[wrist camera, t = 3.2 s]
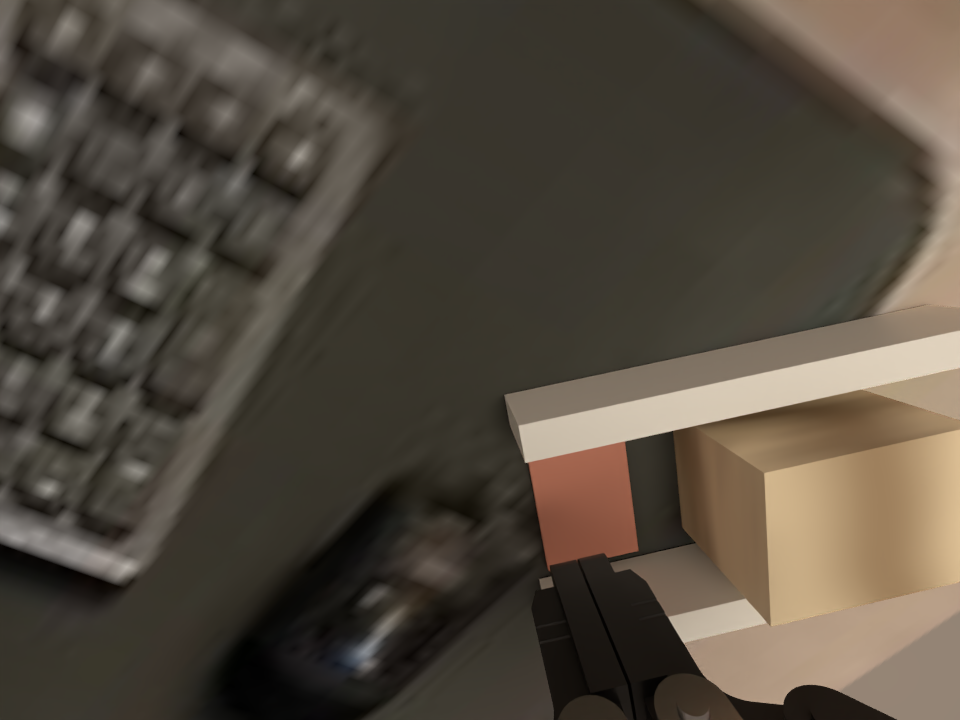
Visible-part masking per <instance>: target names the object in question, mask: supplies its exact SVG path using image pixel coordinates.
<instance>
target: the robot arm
mask: <svg viewBox="0 0 960 720" xmlns="http://www.w3.org/2000/svg"><path fill="white" fill-rule="evenodd" d="M577 562H578V563H577ZM550 572H551V577H552V581H553V586H554V587H550V588H546V589H542V590H538V591H536V592H535V596H534V600H533V604H532V613H533V617H534V622H535V626H536V631H537V635H538V640H539V644H540V648H541V653H542V657H543V662H544V666H545V671H546V675H547V679H548V684H549V688H550V693H551V697H552V702H553V707H554V720H896V719H894V718H892V717H890V716H888V715H886V714H884V713H882V712H880V711H877V710H876V709H873V708H872V707H869V706H867V705H865V704H863V703H861V702H859V701H857V700H855V699H853V698H851V697H849V696H847V695H845V694H843V693H840V692H838V691H836V690H833V689H830V688H827V687H823V686H818V685H803V686H799V687H796V688H794V689H793V690H791V691H790V692H789V693H788V694H787V696H786V697H785V700H784V704H783V705H777V704H768V703H758V702H750V701H744V700H741V699H738V698H735V697H732V696H730V695H728V694H726V693H724V692H722V691H721V690H720V689H719V688H718V687H717V686H716V685H715V684H713V683H712V682H710V681H709V680H707V679H706V678H705V677H704V676H703V674H702V673H701V671H700V670H699V668H698V667H697V665H696V663H695V662H694V660H693V658H692V657H691V655H690V653H689V652H688V650H687V648H686V647H685V645H684V643H683V642H682V640H681V638H680V637H679V635H678V633H677V632H676V630H675V628H674V627H673V625H672V623H671V622H670V620H669V618H668V617H667V616H666V614H665V612H664V610H663V608H662V607H661V605H660V603H659V602H658V601H657V599H656V597H655V595H654V593H653V592H652V590H651V588H650V587H649V585H648V583H647V582H646V581H645V580H644V579H643V578H641V577H640V576H639V575H637V574H636V573H635V572H633V571H632V570H631V569H628V570H623V571H619V572H614V570H613V568H612V566H611V564H610V562H609V560H608V558H607V556H606V555H605V553H601V554H596V555H592V556H588V557H583V558H579V559H577V561H576V560H571V561H567V562H562V563H558V564H554V565H550Z"/></svg>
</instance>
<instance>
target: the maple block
mask: <svg viewBox="0 0 960 720" xmlns="http://www.w3.org/2000/svg"><path fill="white" fill-rule="evenodd" d="M673 436H674V446H675V457H676V467H677V478H678V488H679V499H680V509H681V520H682V528H683V529H684V530H685V531H686V532H687V533H688V535H689V536H690V537H691V538H692V539H693V540H694V541H695V542H696V544H697V545H698V546H699V547H700V548H701V549H702V550H703V551H704V552H705V554H706V555H707V556H708V557H709V558H710V559H711V560H712V561H713V563H714V564H715V565H716V566H717V567H718V568H719V569H720V570H721V572H722V573H723V574H724V575H725V576H726V577H727V578H728V579H729V580H730V582H731V583H732V584H733V585H734V586H735V587H736V588H737V589H738V591H739V592H740V593H741V594H742V595H743V596H744V597H745V598H746V599H747V601H748V602H749V603H750V604H751V605H752V606H753V607H754V608H755V610H756V611H757V612H758V613H759V614H760V615H761V616H762V617H763V619H764V620H765V621H766V622H767V623H768V624H769V625H770V626H771V627H772V626H777V625H781V624H785V623H789V622H793V621H798V620H802V619H806V618H810V617H815V616H819V615H823V614H827V613H831V612H836V611H840V610H844V609H848V608H853V607H857V606H861V605H865V604H869V603H874V602H878V601H882V600H886V599H890V598H895V597H899V596H903V595H907V594H912V593H916V592H920V591H924V590H928V589H933V588H937V587H941V586H945V585H950V584H954V583H958V582H960V420H957V419H954V418H951V417H947V416H944V415H941V414H938V413H935V412H931V411H928V410H925V409H922V408H919V407H915V406H912V405H909V404H906V403H903V402H899V401H896V400H893V399H890V398H887V397H883V396H880V395H877V394H874V393H871V392H867V391H864V390H856V391H852V392H847V393H843V394H838V395H834V396H829V397H824V398H820V399H815V400H811V401H806V402H802V403H797V404H793V405H788V406H783V407H779V408H774V409H770V410H765V411H761V412H756V413H752V414H747V415H742V416H738V417H733V418H729V419H724V420H720V421H715V422H711V423H706V424H701V425H697V426H692V427H688V428H683V429H679V430H674V431H673Z"/></svg>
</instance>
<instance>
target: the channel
mask: <svg viewBox="0 0 960 720" xmlns="http://www.w3.org/2000/svg"><path fill="white" fill-rule="evenodd" d="M957 368H960V308H957V307H946V306H936V305H924V306H919V307H915V308H910V309H905V310H901V311H896V312H891V313H886V314H882V315H877V316H872V317H868V318H863V319H858V320H854V321H849V322H844V323H839V324H835V325H830V326H825V327H821V328H816V329H811V330H807V331H802V332H797V333H792V334H788V335H783V336H778V337H774V338H769V339H764V340H760V341H755V342H750V343H745V344H741V345H736V346H731V347H727V348H722V349H717V350H713V351H708V352H703V353H698V354H694V355H689V356H684V357H680V358H675V359H670V360H666V361H661V362H656V363H652V364H647V365H642V366H637V367H633V368H628V369H623V370H619V371H614V372H609V373H605V374H600V375H595V376H590V377H586V378H581V379H576V380H572V381H567V382H562V383H558V384H553V385H548V386H543V387H539V388H534V389H529V390H525V391H520V392H515V393H511V394H506V395H504V397H505V402H506V407H507V413H508V418H509V423H510V427H511V430H512V432H513V434H514V437H515V439H516V442H517V444H518V446H519V449H520V451H521V454H522V456H523V459H524V461H525V463H528V465H529V471H530V476H531V482H532V487H533V493H534V498H535V504H536V509H537V515H538V520H539V525H540V531H541V536H542V542H543V547H544V553H545V558H546V564H547V568H548V571H550V565H554V564H558V563H562V562H567V561H571V560H576V561H577V559H579V558H583V557H588V556H592V555H596V554H601V553H605V555H606V556H607V558H609V557H614V556H618V555H623V554H627V553H631V552H636V551H638V543H637V535H636V527H635V519H634V511H633V503H632V495H631V487H630V479H629V471H628V463H627V455H626V447H625V441H628V440H633V439H638V438H642V437H647V436H651V435H656V434H660V433H665V432H669V431H674V430H679V429H683V428H688V427H692V426H697V425H701V424H706V423H711V422H715V421H720V420H724V419H729V418H733V417H738V416H742V415H747V414H752V413H756V412H761V411H765V410H770V409H774V408H779V407H783V406H788V405H793V404H797V403H802V402H806V401H811V400H815V399H820V398H824V397H829V396H834V395H838V394H843V393H847V392H852V391H856V390H861V389H865V388H870V387H875V386H879V385H884V384H888V383H893V382H897V381H902V380H907V379H911V378H916V377H920V376H925V375H929V374H934V373H938V372H943V371H948V370H952V369H957ZM577 563H578V562H577ZM610 564H611V566H612V568H613V570H614V572H619V571H623V570H628V569H631V570H632V571H633V572H635V573H636V574H637V575H639V576H640V577H641V578H643V579H644V580H645V581H646V582H647V583H648V585H649V587H650V588H651V590H652V592H653V593H654V595H655V597H656V599H657V601H658V602H659V603H660V605H661V607H662V608H663V610H664V612H665V614H666V616H667V617H668V618H669V620H670V622H671V623H672V625H673V627H674V628H675V630H676V632H677V633H678V635H679V637H680V638H681V640H682V642H683V643H686V642H690V641H694V640H698V639H702V638H707V637H711V636H715V635H719V634H723V633H728V632H732V631H736V630H740V629H744V628H748V627H753V626H757V625H761V624H765V623H767V622H766V621H765V620H764V619H763V617H762V616H761V615H760V614H759V613H758V612H757V611H756V610H755V608H754V607H753V606H752V605H751V604H750V603H749V602H748V601H747V599H746V598H745V597H744V596H743V595H742V594H741V593H740V592H739V591H738V589H737V588H736V587H735V586H734V585H733V584H732V583H731V582H730V580H729V579H728V578H727V577H726V576H725V575H724V574H723V573H722V572H721V570H720V569H719V568H718V567H717V566H716V565H715V564H714V563H713V561H712V560H711V559H710V558H709V557H708V556H707V555H706V554H705V552H704V551H703V550H702V549H701V548H700V547H699V546H698V545H697V544H696V543H694V544H690V545H685V546H681V547H677V548H672V549H668V550H664V551H659V552H655V553H651V554H646V555H642V556H638V557H633V558H629V559H624V560H620V561H616V562H611V563H610ZM539 581H540V586H541V590H542V589H546V588H550V587H554V586H553V581H552V577H546V578H542V579H539Z"/></svg>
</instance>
